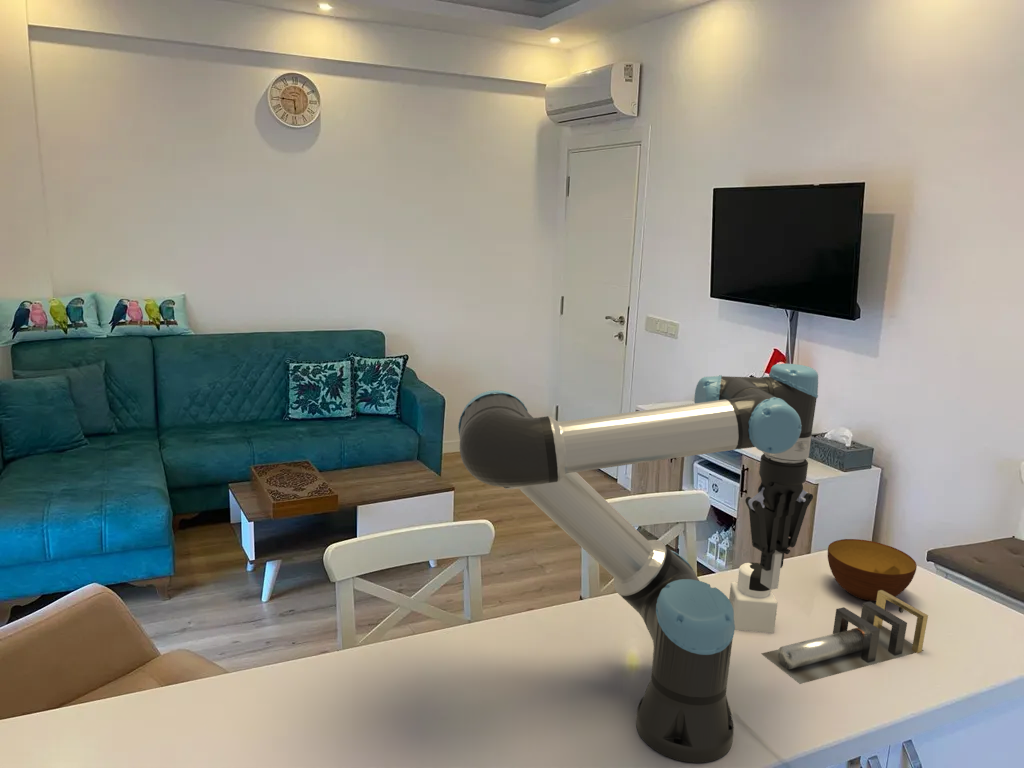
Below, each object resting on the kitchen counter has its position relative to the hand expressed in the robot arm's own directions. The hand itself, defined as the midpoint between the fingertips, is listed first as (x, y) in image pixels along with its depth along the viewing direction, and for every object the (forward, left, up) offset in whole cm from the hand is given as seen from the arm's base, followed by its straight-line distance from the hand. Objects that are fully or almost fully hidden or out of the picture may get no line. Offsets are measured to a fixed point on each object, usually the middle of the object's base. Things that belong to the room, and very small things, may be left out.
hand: (769, 585), depth 130 cm
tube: (+16, 0, -17) cm, 24 cm away
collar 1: (+23, 0, -17) cm, 29 cm away
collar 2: (+30, 0, -17) cm, 35 cm away
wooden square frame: (+34, 0, -17) cm, 39 cm away
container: (+11, +15, -19) cm, 26 cm away
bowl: (+44, +16, -19) cm, 50 cm away
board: (+20, 0, -18) cm, 27 cm away
